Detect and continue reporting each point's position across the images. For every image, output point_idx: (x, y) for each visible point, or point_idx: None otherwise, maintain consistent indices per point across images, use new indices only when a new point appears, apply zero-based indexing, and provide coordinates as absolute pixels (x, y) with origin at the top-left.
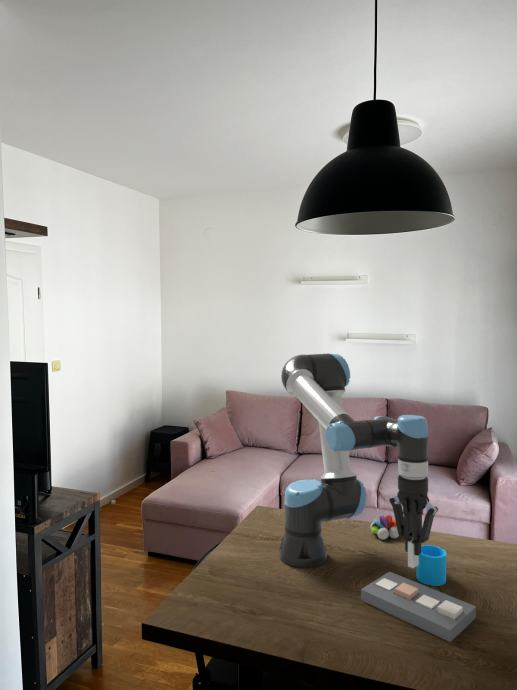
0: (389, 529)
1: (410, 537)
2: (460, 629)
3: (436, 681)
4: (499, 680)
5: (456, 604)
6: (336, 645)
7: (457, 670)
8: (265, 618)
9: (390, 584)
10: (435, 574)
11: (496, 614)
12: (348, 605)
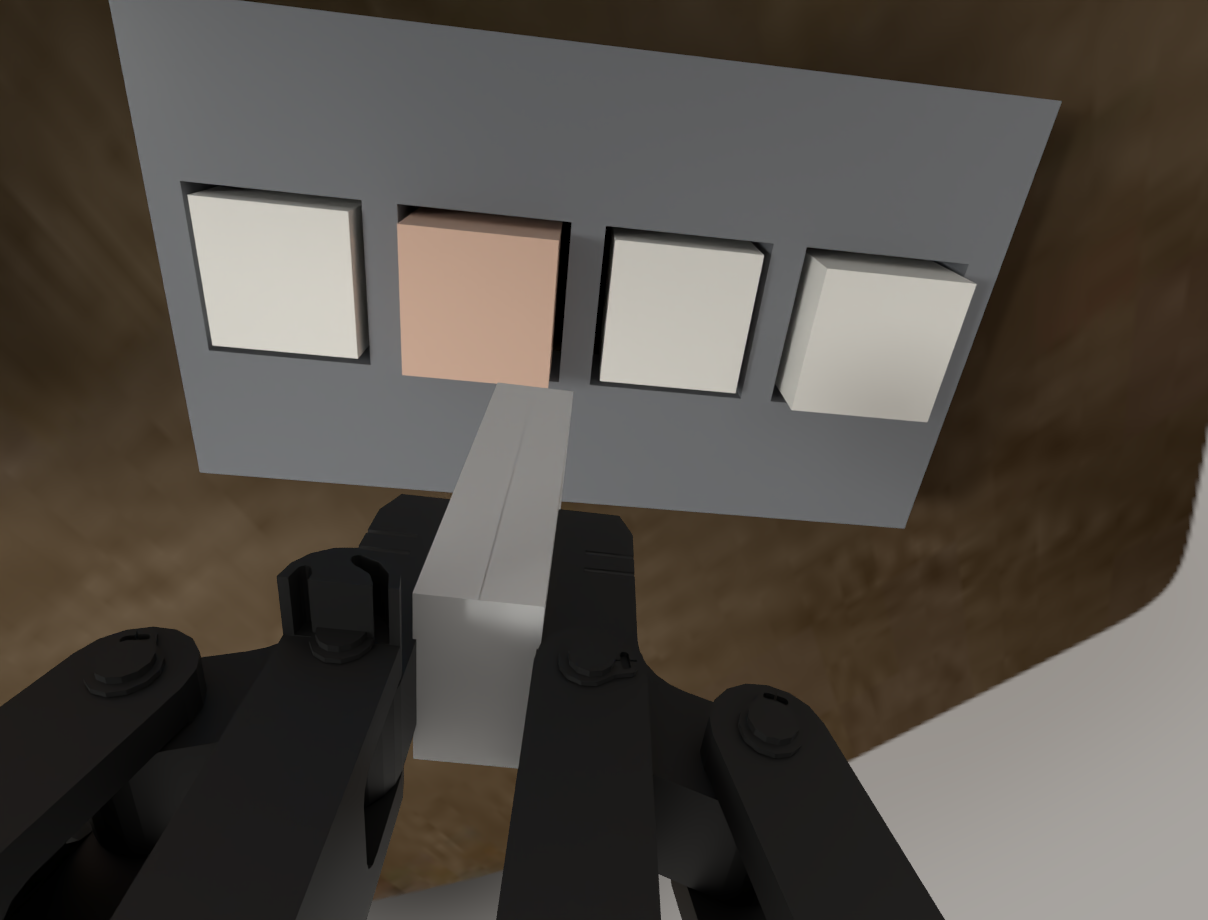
0: None
1: (397, 736)
2: None
3: (868, 738)
4: (1126, 599)
5: (923, 281)
6: (432, 787)
7: (940, 644)
8: None
9: (307, 269)
10: None
11: None
12: (231, 527)
